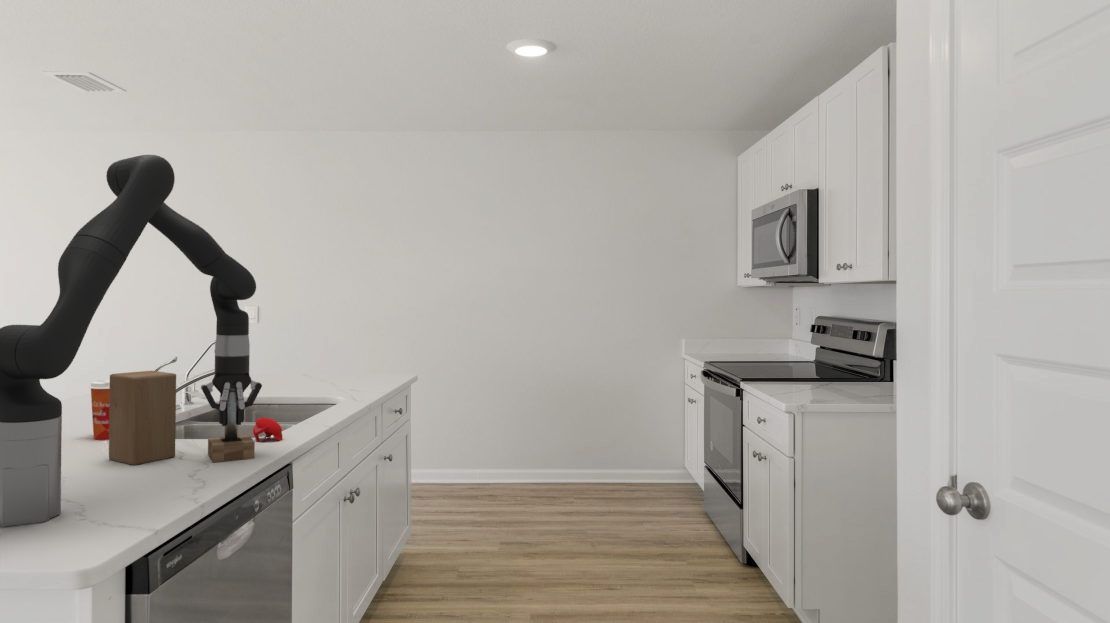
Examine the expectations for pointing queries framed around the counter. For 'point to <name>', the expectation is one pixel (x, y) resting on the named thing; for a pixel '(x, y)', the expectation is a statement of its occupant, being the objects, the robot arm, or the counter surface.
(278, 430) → the cap
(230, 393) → the grey metal cylinder
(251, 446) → the checkered wooden holder
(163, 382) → the wooden block
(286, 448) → the counter surface
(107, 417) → the coffee cup
